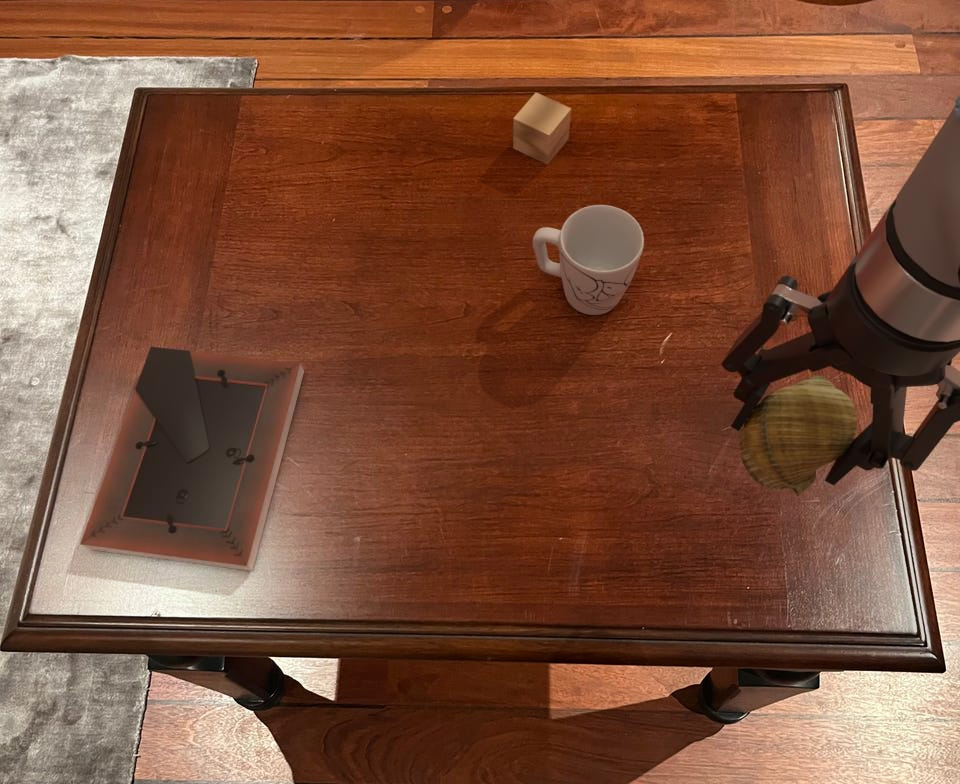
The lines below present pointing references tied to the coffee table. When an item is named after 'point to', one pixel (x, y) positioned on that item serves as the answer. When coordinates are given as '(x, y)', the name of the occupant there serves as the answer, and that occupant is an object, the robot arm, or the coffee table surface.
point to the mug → (593, 256)
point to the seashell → (797, 433)
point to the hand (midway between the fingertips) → (788, 442)
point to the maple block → (541, 128)
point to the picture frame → (196, 459)
